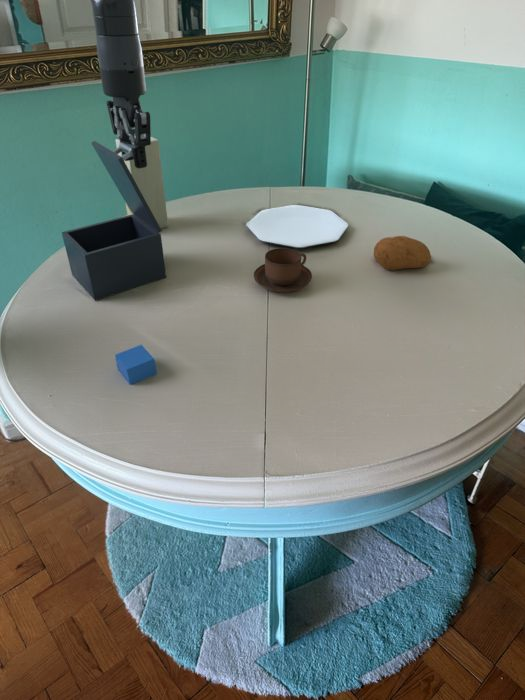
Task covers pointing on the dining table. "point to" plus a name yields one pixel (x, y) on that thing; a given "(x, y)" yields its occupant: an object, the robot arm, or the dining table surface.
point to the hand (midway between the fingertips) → (134, 163)
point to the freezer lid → (126, 181)
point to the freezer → (115, 255)
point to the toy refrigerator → (150, 181)
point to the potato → (401, 253)
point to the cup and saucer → (283, 271)
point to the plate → (297, 226)
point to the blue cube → (135, 364)
